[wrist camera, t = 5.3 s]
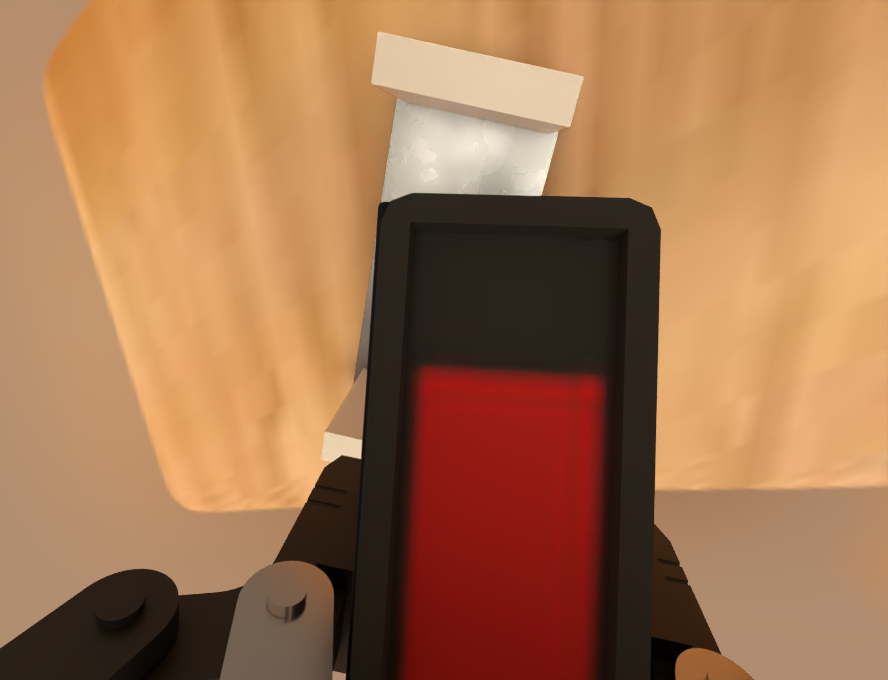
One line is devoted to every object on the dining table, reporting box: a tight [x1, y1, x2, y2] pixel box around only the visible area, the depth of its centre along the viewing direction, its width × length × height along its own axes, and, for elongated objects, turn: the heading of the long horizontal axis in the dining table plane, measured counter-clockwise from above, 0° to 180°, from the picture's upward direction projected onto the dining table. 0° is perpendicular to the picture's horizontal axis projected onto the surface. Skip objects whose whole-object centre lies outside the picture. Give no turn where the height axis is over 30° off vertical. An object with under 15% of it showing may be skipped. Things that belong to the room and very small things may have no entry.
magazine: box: [346, 193, 661, 680], centre depth 13 cm, size 4×13×15 cm, turn 179°
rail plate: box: [353, 98, 559, 385], centre depth 30 cm, size 20×9×1 cm, turn 168°
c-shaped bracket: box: [321, 31, 584, 462], centre depth 26 cm, size 20×8×8 cm, turn 168°
